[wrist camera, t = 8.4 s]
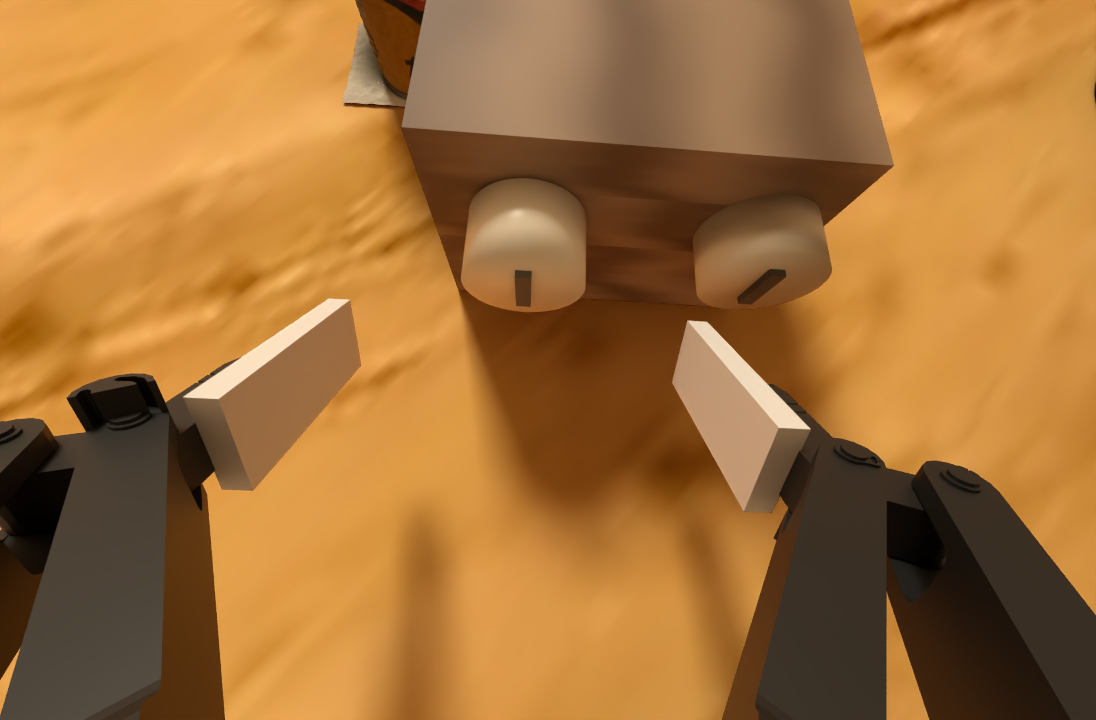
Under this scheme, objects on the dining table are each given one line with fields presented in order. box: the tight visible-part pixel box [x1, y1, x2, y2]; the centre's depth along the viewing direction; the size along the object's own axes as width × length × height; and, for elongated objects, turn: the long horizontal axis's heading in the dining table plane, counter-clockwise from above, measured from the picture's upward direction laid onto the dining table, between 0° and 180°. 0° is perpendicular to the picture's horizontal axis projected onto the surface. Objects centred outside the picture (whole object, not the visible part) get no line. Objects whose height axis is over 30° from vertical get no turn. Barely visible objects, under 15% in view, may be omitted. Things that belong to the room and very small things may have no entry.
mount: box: [401, 0, 894, 310], centre depth 19 cm, size 16×13×11 cm
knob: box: [461, 178, 586, 312], centre depth 18 cm, size 5×15×5 cm, turn 178°
